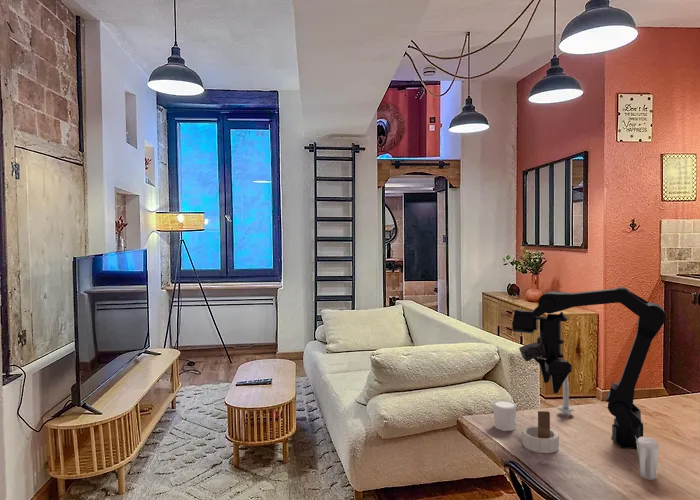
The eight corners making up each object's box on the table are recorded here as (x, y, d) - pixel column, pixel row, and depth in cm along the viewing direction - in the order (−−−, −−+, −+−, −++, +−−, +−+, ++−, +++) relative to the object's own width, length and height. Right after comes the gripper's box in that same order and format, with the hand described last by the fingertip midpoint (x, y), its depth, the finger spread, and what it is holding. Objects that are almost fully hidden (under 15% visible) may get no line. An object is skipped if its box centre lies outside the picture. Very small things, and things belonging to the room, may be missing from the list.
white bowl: (552, 438, 133) (552, 426, 133) (563, 454, 124) (563, 440, 124) (518, 437, 134) (518, 425, 134) (527, 452, 125) (526, 439, 125)
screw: (577, 415, 150) (569, 418, 147) (562, 410, 154) (554, 414, 151) (577, 374, 149) (568, 377, 147) (562, 371, 153) (554, 374, 150)
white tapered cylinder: (518, 432, 138) (518, 409, 138) (494, 431, 139) (493, 407, 139) (515, 423, 145) (515, 400, 144) (491, 421, 146) (491, 399, 146)
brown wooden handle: (536, 440, 131) (536, 409, 131) (548, 440, 130) (548, 410, 130) (539, 445, 128) (539, 414, 127) (551, 446, 127) (551, 414, 127)
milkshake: (628, 472, 114) (628, 431, 114) (649, 471, 114) (649, 430, 114) (641, 482, 109) (641, 440, 109) (663, 481, 110) (663, 438, 110)
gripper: (514, 328, 149) (515, 377, 149) (529, 342, 130) (530, 398, 131) (551, 328, 147) (551, 378, 148) (572, 342, 129) (572, 399, 129)
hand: (550, 387), depth 139 cm, fingers open, 9 cm apart
